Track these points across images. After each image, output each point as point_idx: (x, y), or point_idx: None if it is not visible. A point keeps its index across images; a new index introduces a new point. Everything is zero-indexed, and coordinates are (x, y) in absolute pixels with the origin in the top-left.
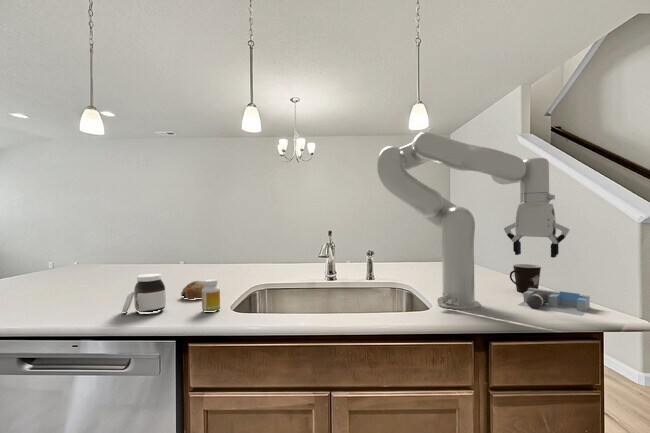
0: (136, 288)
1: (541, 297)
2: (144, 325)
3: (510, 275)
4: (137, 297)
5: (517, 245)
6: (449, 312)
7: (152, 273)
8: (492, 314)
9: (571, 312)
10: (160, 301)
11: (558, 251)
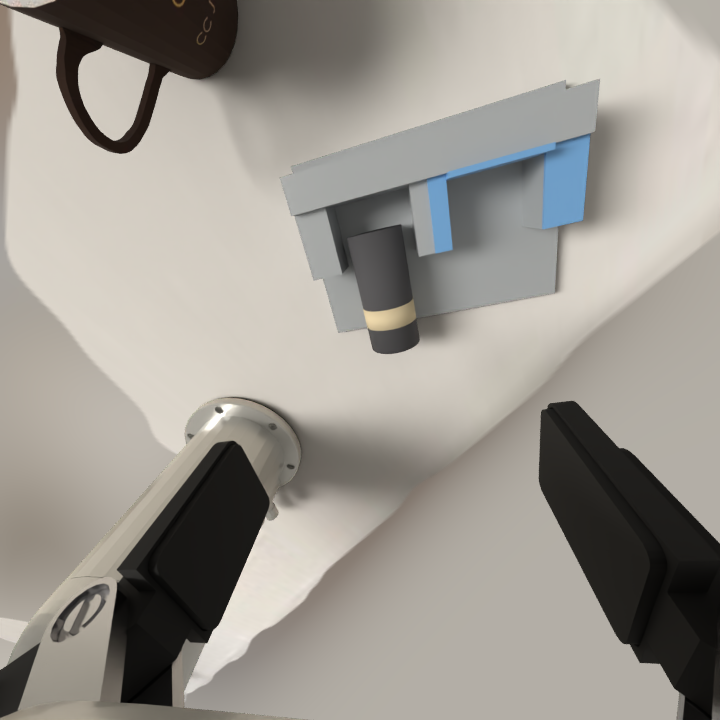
0: None
1: (408, 307)
2: (187, 691)
3: (112, 151)
4: None
5: (230, 592)
6: (288, 498)
7: None
8: (351, 450)
9: (513, 278)
10: None
11: (643, 468)
